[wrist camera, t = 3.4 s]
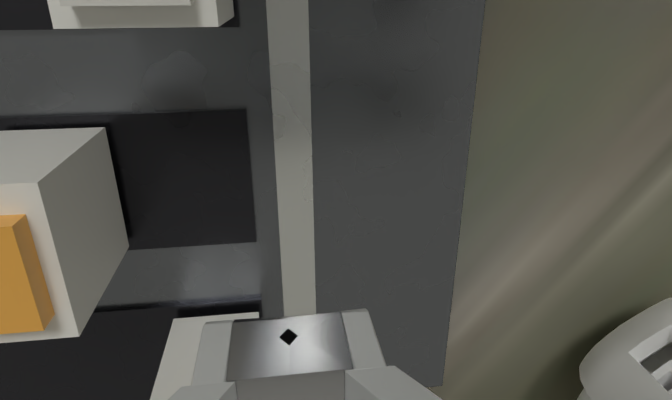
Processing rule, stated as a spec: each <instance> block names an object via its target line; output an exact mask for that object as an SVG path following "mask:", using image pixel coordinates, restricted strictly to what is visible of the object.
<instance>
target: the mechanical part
mask: <svg viewBox="0 0 672 400" xmlns="http://www.w3.org/2000/svg"><path fill="white" fill-rule="evenodd" d="M579 373H580V380H581V382H582V385H583V387H584V389H583V390H582V392H581V393H580V395H579V396H578V398H577V400H672V297H670V298H667V299H664V300H663V301H661V302H659V303H657V304H655V305H653V306H651V307H649V308H647V309H646V310H644V311H642V312H641V313H639V314H637V315H635V316H634V317H632V318H631V319H629V320H627V321H626V322H624V323H623V324H621V325H619V326H618V327H617V328H616V329H614V330H613V331H612V332H610V333H609V334H608V335H606V336H605V337H604V338H603V339H602V340H601V341H599V342H598V343H597V344H596V345H595V346H594V347H593V348H592V349H591V350H590V351H589V353H588V354H587V355H586V356H585V357H584V359H583V361H582V362H581V364H580V366H579Z"/></svg>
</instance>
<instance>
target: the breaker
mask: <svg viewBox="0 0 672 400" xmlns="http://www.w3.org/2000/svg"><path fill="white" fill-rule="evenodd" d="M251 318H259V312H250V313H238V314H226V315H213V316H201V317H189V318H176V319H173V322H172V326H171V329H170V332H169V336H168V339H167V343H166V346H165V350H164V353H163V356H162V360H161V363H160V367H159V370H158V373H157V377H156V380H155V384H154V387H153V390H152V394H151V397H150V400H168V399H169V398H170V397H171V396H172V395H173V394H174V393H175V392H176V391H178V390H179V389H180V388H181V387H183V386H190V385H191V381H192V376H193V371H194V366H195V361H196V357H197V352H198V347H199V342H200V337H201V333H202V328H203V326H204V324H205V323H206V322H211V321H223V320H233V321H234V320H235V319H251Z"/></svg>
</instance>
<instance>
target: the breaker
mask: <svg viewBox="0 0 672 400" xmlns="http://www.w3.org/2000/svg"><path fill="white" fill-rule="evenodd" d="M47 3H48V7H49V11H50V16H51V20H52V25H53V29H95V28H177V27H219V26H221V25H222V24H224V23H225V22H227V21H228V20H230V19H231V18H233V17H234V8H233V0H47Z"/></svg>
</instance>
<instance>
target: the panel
mask: <svg viewBox="0 0 672 400" xmlns="http://www.w3.org/2000/svg"><path fill="white" fill-rule="evenodd" d="M233 8H234V17H233V18H231V19H230V20H228V21H227V22H225V23H224V24H222V25H221V26H219V27H177V28H95V29H53V25H52V20H51V16H50V11H49V7H48V3H47V0H0V131H9V130H38V129H66V128H94V127H105V129H106V134H107V139H108V144H109V149H110V154H111V159H112V164H113V169H114V174H115V179H116V184H117V188H118V193H119V198H120V203H121V208H122V213H123V218H124V223H125V228H126V233H127V238H128V243H129V248H128V250H127V251H126V253H125V255H124V257H123V259H122V260H121V262H120V264H119V266H118V268H117V270H116V271H115V273H114V275H113V277H112V279H111V280H110V282H109V284H108V286H107V288H106V289H105V291H104V293H103V295H102V297H101V299H100V300H99V302H98V304H97V306H96V308H95V309H94V311H93V313H92V315H91V317H90V318H89V320H88V322H87V324H86V326H85V327H84V329H83V331H82V333H81V335H80V337H69V338H57V339H45V340H33V341H21V342H9V343H0V400H150V397H151V394H152V390H153V387H154V384H155V380H156V377H157V373H158V370H159V367H160V363H161V360H162V356H163V353H164V350H165V346H166V343H167V339H168V336H169V332H170V329H171V326H172V322H173V319H176V318H189V317H201V316H213V315H226V314H238V313H250V312H259V318H267V317H283V316H288V317H291V316H301V315H312V314H322V313H333V312H340V311H345V310H354V309H362V308H366V309H367V310H368V311H369V315H370V318H371V321H372V324H373V327H374V330H375V333H376V336H377V339H378V342H379V345H380V348H381V351H382V354H383V357H384V360H385V363H386V366H396V367H397V368H399V369H400V370H402V371H403V372H404V373H406V374H407V375H409V376H410V377H411V378H413V379H414V380H416V381H417V382H418V383H420V384H421V385H423V386H424V387H434V386H442V383H443V374H444V365H445V357H446V348H447V339H448V330H449V321H450V312H451V303H452V294H453V285H454V276H455V267H456V258H457V249H458V241H459V232H460V223H461V214H462V205H463V196H464V187H465V178H466V169H467V160H468V151H469V142H470V133H471V125H472V116H473V107H474V98H475V89H476V80H477V71H478V62H479V53H480V44H481V35H482V26H483V17H484V8H485V0H233Z"/></svg>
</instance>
